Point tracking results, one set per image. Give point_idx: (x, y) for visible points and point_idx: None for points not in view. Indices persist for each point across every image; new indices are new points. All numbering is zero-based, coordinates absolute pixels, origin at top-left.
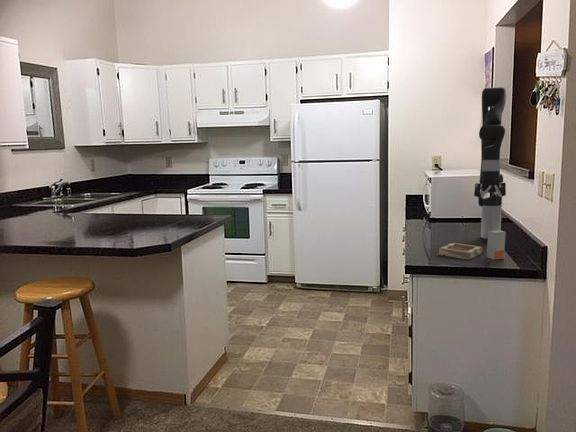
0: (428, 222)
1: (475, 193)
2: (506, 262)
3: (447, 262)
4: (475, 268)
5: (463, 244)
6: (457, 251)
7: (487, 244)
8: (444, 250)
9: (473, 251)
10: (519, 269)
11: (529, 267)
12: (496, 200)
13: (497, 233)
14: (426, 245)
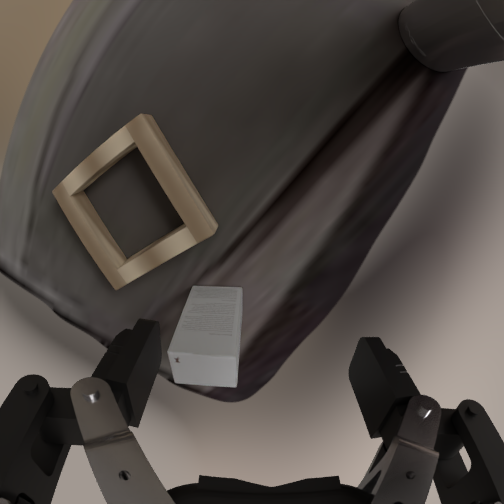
0: None
1: (17, 413)
2: None
3: (61, 275)
4: (107, 348)
5: (162, 163)
6: (90, 253)
7: (181, 314)
8: (65, 208)
9: (143, 273)
10: (204, 394)
11: (240, 393)
12: (378, 374)
13: (191, 382)
14: (98, 37)
